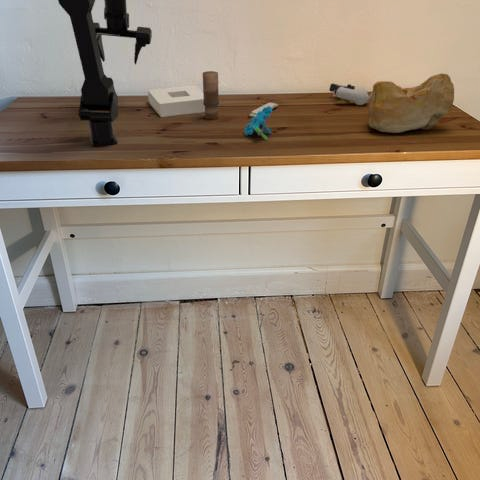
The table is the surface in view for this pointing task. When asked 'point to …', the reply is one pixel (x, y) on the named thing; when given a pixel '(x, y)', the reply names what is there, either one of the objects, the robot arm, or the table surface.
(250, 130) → the gear
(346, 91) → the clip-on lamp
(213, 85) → the walnut peg
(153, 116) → the table surface
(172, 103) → the white board
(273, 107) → the harmonica
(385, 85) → the rough brown rock
